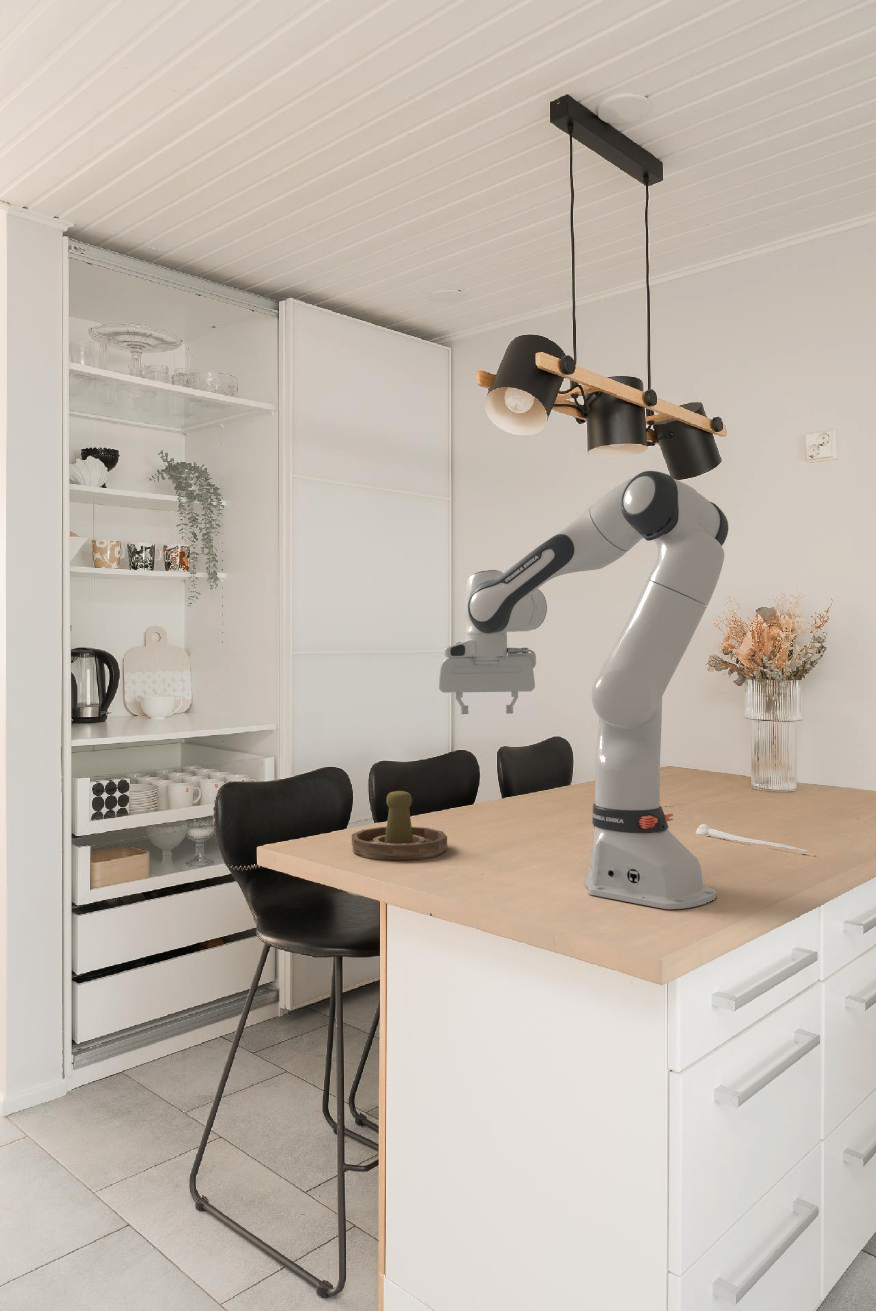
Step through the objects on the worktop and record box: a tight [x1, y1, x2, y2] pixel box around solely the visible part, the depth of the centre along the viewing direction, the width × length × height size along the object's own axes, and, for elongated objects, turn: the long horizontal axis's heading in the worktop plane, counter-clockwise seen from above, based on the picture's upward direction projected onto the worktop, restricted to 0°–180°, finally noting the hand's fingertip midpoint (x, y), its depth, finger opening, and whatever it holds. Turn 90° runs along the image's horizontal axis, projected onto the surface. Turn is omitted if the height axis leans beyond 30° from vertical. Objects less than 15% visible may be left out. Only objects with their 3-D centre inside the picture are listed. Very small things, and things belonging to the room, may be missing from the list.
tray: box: [351, 826, 448, 862], centre depth 192 cm, size 19×19×3 cm
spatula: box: [695, 823, 809, 851], centre depth 199 cm, size 28×4×3 cm, turn 40°
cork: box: [385, 790, 413, 844], centre depth 192 cm, size 6×6×11 cm
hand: (487, 713), depth 198 cm, fingers open, 8 cm apart
